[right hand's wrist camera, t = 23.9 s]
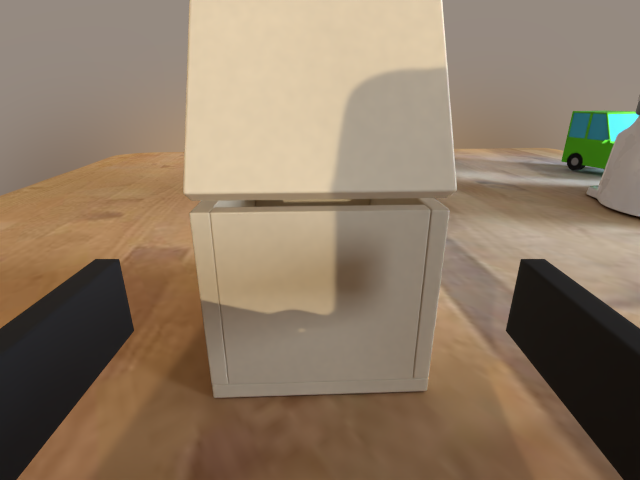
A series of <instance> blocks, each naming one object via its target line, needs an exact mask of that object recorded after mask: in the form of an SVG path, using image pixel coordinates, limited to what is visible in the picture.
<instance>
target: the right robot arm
mask: <svg viewBox="0 0 640 480" xmlns="http://www.w3.org/2000/svg"><path fill="white" fill-rule="evenodd" d="M133 331H134V328H133V323H132V318H131V314H130V309H129V304H128V300H127V295H126V290H125V285H124V281H123V276H122V271H121V266H120V262H119V259H95V260H94V261H92V262H91V263H90V264H88V265H87V266H86V267H84V268H83V269H81V270H80V271H79V272H77V273H76V274H75V275H73V276H72V277H70V278H69V279H68V280H66V281H65V282H64V283H62V284H61V285H60V286H58V287H57V288H55V289H54V290H53V291H51V292H50V293H49V294H47V295H46V296H44V297H43V298H42V299H40V300H39V301H38V302H36V303H35V304H34V305H32V306H31V307H29V308H28V309H27V310H25V311H24V312H23V313H21V314H20V315H18V316H17V317H16V318H14V319H13V320H12V321H10V322H9V323H7V324H6V325H5V326H3V327H2V328H1V329H0V480H16V479H17V478H18V477H19V476H20V474H21V473H22V472H23V471H24V469H25V468H26V467H27V466H28V464H29V463H30V462H31V460H32V459H33V458H34V457H35V455H36V454H37V453H38V452H39V450H40V449H41V448H42V447H43V445H44V444H45V443H46V441H47V440H48V439H49V438H50V436H51V435H52V434H53V433H54V431H55V430H56V429H57V428H58V426H59V425H60V424H61V422H62V421H63V420H64V419H65V417H66V416H67V415H68V414H69V412H70V411H71V410H72V409H73V407H74V406H75V405H76V404H77V402H78V401H79V400H80V398H81V397H82V396H83V395H84V393H85V392H86V391H87V390H88V388H89V387H90V386H91V385H92V383H93V382H94V381H95V379H96V378H97V377H98V376H99V374H100V373H101V372H102V371H103V369H104V368H105V367H106V366H107V364H108V363H109V362H110V360H111V359H112V358H113V357H114V355H115V354H116V353H117V352H118V350H119V349H120V348H121V347H122V345H123V344H124V343H125V341H126V340H127V339H128V338H129V336H130V335H131V334H132V333H133ZM506 331H507V333H508V334H509V335H510V336H511V338H512V339H513V340H514V341H515V343H516V344H517V345H518V347H519V348H520V349H521V350H522V352H523V353H524V354H525V355H526V357H527V358H528V359H529V360H530V362H531V363H532V364H533V366H534V367H535V368H536V369H537V371H538V372H539V373H540V374H541V376H542V377H543V378H544V379H545V381H546V382H547V383H548V385H549V386H550V387H551V388H552V390H553V391H554V392H555V393H556V395H557V396H558V397H559V398H560V400H561V401H562V402H563V404H564V405H565V406H566V407H567V409H568V410H569V411H570V412H571V414H572V415H573V416H574V417H575V419H576V420H577V421H578V423H579V424H580V425H581V426H582V428H583V429H584V430H585V431H586V433H587V434H588V435H589V436H590V438H591V439H592V440H593V441H594V443H595V444H596V445H597V447H598V448H599V449H600V450H601V452H602V453H603V454H604V455H605V457H606V458H607V459H608V460H609V462H610V463H611V464H612V466H613V467H614V468H615V469H616V471H617V472H618V473H619V474H620V476H621V477H622V478H623V479H624V480H640V329H639V328H638V327H637V326H635V325H634V324H633V323H631V322H630V321H628V320H627V319H626V318H624V317H623V316H622V315H620V314H619V313H617V312H616V311H615V310H613V309H612V308H611V307H609V306H608V305H606V304H605V303H604V302H602V301H601V300H600V299H598V298H597V297H596V296H594V295H593V294H591V293H590V292H589V291H587V290H586V289H585V288H583V287H582V286H580V285H579V284H578V283H576V282H575V281H574V280H572V279H571V278H570V277H568V276H567V275H565V274H564V273H563V272H561V271H560V270H559V269H557V268H556V267H554V266H553V265H552V264H550V263H549V262H548V261H546V260H545V259H521V262H520V266H519V271H518V276H517V281H516V285H515V290H514V295H513V300H512V304H511V309H510V314H509V318H508V323H507V328H506Z"/></svg>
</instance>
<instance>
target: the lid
mask: <svg viewBox="0 0 640 480" xmlns="http://www.w3.org/2000/svg"><path fill="white" fill-rule="evenodd" d="M456 190H457V184H456V171H455V159H454V146H453V133H452V121H451V108H450V96H449V83H448V70H447V58H446V45H445V32H444V19H443V6H442V0H189V30H188V60H187V89H186V119H185V149H184V178H183V193H184V195H185V196H187V197H188V198H189V199H190V200H192V201H223V200H308V199H394V198H447V197H449V196H450V195H451V194H453V193H454V192H456Z"/></svg>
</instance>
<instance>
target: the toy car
mask: <svg viewBox="0 0 640 480" xmlns="http://www.w3.org/2000/svg"><path fill="white" fill-rule="evenodd" d="M638 116H639V115H637V114H636V112H630V111H573V113H572V118H571V122H570V126H569V131H568V135H567V139H566V144H565V148H564V153H563V157H562V162H567V165H568V167H569V168H570V169H572V170H580V169H582V168H584V167H585V166H591V167H596V168H602V169H605V167H606V164H607V162H608V159H609V156H610V153H611V151H612V148H613V145H614V142H615V140H616V137H617V135H618V134H619V133H620V132H622V131H623V130H625V129H627V128H628V127H630V126H631V125H632V124H633V123H634V122H635V120H636V119H637V118H638Z"/></svg>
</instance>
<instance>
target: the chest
mask: <svg viewBox="0 0 640 480" xmlns="http://www.w3.org/2000/svg"><path fill="white" fill-rule="evenodd" d="M449 212H450V211H449V209H448V208H447V207H445V206H444V205H443V204H441V203H440V202H439V201H438V200H436V199H435V198H394V199H308V200H223V201H201V202H200V203H199V204H198V205H197V206H196V207H195V208H194V209H193V210H192V211H191V212H190V213H189V216H190V224H191V231H192V239H193V246H194V254H195V262H196V269H197V277H198V285H199V292H200V300H201V308H202V315H203V323H204V331H205V338H206V346H207V353H208V361H209V369H210V376H211V384H212V391H213V397H214V398H225V397H256V396H286V395H317V394H348V393H379V392H410V391H427V385H428V376H429V369H430V361H431V353H432V345H433V337H434V330H435V322H436V314H437V306H438V298H439V290H440V283H441V275H442V267H443V259H444V251H445V244H446V236H447V228H448V220H449Z"/></svg>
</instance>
